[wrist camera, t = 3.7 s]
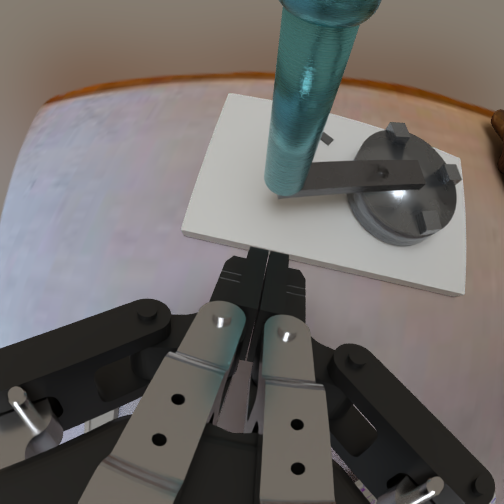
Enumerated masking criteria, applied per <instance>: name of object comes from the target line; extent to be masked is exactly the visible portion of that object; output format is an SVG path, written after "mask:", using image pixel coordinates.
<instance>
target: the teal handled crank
mask: <svg viewBox="0 0 504 504" xmlns="http://www.w3.org/2000/svg"><path fill="white" fill-rule="evenodd" d="M279 1H280V3H281V4H282V5H283V11H282V20H281V30H280V39H279V47H278V56H277V65H276V74H275V83H274V92H273V101H272V110H271V119H270V128H269V136H268V145H267V154H266V163H265V172H264V181H265V184H266V186H267V187H268V188H269V189H270V190H271V191H272V192H273V193H275V194H277V198H278V199H284V198H295V197H307V196H319V195H332V194H346V195H347V199H348V202H349V205H350V207H351V209H352V211H353V213H354V215H355V217H356V218H357V219H358V221H359V222H360V223H361V225H362V226H363V227H364V228H365V229H366V230H367V231H368V232H370V233H371V234H372V235H374V236H375V237H376V238H378V239H380V240H382V241H384V242H386V243H389V244H392V245H396V246H411V245H415V244H418V243H420V242H422V241H424V240H425V239H427V238H428V237H430V236H432V235H433V234H435V233H436V232H438V231H440V230H441V229H443V228H444V227H445V226H446V225H447V224H448V223H449V222H450V220H451V219H452V217H453V215H454V212H455V209H456V203H457V194H456V187H455V185H456V184H458V183H459V182H460V181H461V180H462V178H461V176H460V173H459V170H458V168H457V165H456V164H446V163H445V161H444V160H443V158H442V157H441V156H440V155H439V154H438V152H437V151H436V150H435V149H434V148H433V147H431V146H430V145H429V144H428V143H426V142H425V141H424V140H422V139H420V138H419V137H417V136H415V135H413V134H410V133H409V132H408V130H407V127H406V125H405V123H396V122H390V123H389V125H388V127H387V128H386V130H383V131H379V132H376V133H374V134H372V135H371V136H369V137H368V138H367V139H366V140H365V141H364V142H363V144H362V146H361V147H360V149H359V151H358V153H357V154H356V156H355V158H354V160H353V161H328V162H312V161H313V158H314V156H315V153H316V150H317V147H318V145H319V142H320V139H321V136H322V133H323V131H324V128H325V125H326V122H327V119H328V117H329V114H330V111H331V108H332V105H333V102H334V99H335V97H336V94H337V91H338V88H339V85H340V82H341V79H342V76H343V73H344V70H345V67H346V64H347V62H348V59H349V56H350V53H351V49H352V46H353V43H354V40H355V38H356V34H357V31H358V28H359V25H360V24H362V23H363V22H365V21H366V20H368V19H369V18H370V17H371V16H372V15H373V14H374V13H375V12H376V10H377V9H378V7H379V5H380V3H381V0H279Z"/></svg>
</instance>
